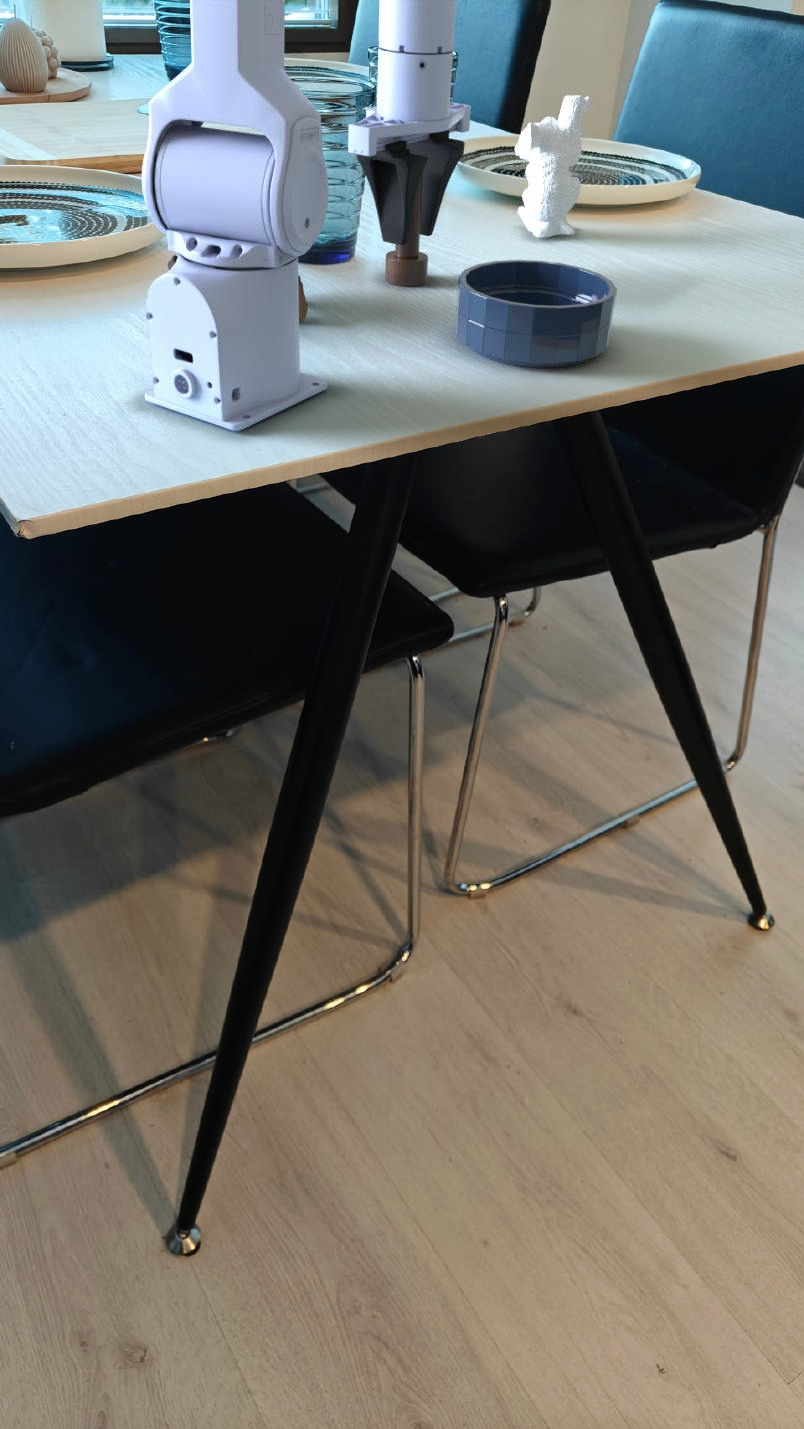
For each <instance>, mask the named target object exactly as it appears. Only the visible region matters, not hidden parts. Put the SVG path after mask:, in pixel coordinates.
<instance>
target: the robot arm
mask: <svg viewBox="0 0 804 1429" xmlns="http://www.w3.org/2000/svg"><path fill="white" fill-rule="evenodd" d="M378 5H379V6H378V13H379V14H378V42H377V43H378V45H377V47H378V48H377V85H376V86H377V87H376V88H377V90H376V106H373V107H369V108H366V110H365V114H366V115H365V117H364V118H363V119H361V120H359V121H357V122H354V123H350V124H348V142H347V143H348V145H347V148H348V150H347V151H348V153H349V154H352V155H353V154H354V155H356V159H357V162H358V163H359V165H360V167H361V169H362V171H363V174H364V175H365V177H366V179H367V182H368V185H369V187H370V191H371V194H372V197H373V201H374V204H375V209H376V214H377V218H378V225H379V228H380V233H381V240H382V242H384V243H389V244H394V245H396V244H397V245H405V244H407V242H408V239H409V235H410V230H411V223H412V214H413V206H414V200H415V195H416V190H417V187H418V183H419V180H420V177H421V174H422V172H423V180H422V200H421V221H420V236H425V237H430V236H432V235H433V233H434V230H435V227H436V223H437V220H438V216H439V213H440V209H441V206H442V203H443V199H444V196H445V193H446V190H447V188H448V184H449V182H450V179H451V177H452V175H453V173H454V171H455V169H456V167H457V166H458V163H459V162H460V160H461V159H462V157H463V155H464V153H465V141H463V140H461V139H455V138H450V134H451V133H455V132H457V133H467V132H470V124H471V111H472V110H471V109H472V105H470V104H465V103H457V102H451V92H452V75H453V56H454V42H455V27H456V11H457V10H456V9H457V0H379V4H378ZM189 8H190V10H189V13H190V44H191V45H190V46H191V62H190V63H189V65H188V66H187V67H185V68H184V69H183V70H182V71H181V72H180V73H179V74H178V75H176V76H175V77H174V78H173V79H172V80H171V81H169V82H168V83H167V84H166V85H165V86H164V87H162V88H161V89H160V90H159V91H158V92H157V93H156V94H155V95H153V97H152V98H151V99H150V100H149V102H148V133H147V134H148V135H147V143H146V149H145V152H144V156H143V160H142V166H141V188H142V190H141V191H142V195H143V199H144V200H143V201H144V203H145V206H146V209H147V211H148V214H149V217H150V219H151V220H152V221H151V222H153V223H152V224H154V225H155V227H156V229H158V230H159V231H160V232H161V233H162V234H163V235H166V237H167V249H168V251H169V252H172V253H173V252H174V253H177V254H178V253H179V254H178V255H177V257H178V258H177V261H176V263H175V264H174V266H173V267H172V268H171V269H170V270H169V269H168V271H167V272H165V273H163V274H161V275H160V276H158V277H157V278H156V279H155V280H154V281H153V282H152V283H151V285H150V287H149V289H148V291H147V295H146V298H145V299H146V300H145V323H146V332H147V341H148V352H149V360H150V367H151V368H150V370H151V381H152V389H150V390H148V391H146V392H145V393H144V398H145V399H144V400H145V401H146V402H148V403H151V404H154V405H157V406H160V407H162V408H166V409H169V410H171V411H174V412H177V413H179V414H183V415H186V416H190V417H192V418H195V419H198V420H200V421H204V422H207V423H209V424H212V425H216V426H218V427H221V428H224V429H227V430H230V431H235V432H239V431H242V430H245V429H246V428H248V427H251V426H252V425H254V424H258V423H260V422H261V421H262V420H266V419H268V418H269V417H271V416H274V415H275V414H278V413H280V412H281V411H284V410H286V409H288V408H290V407H292V406H294V405H296V404H298V403H301V402H302V401H304V400H306V399H308V398H311V397H314V396H315V395H317V394H319V393H321V392H323V391H326V390H327V389H328V381H327V380H325V379H323V378H319V377H316V376H312V375H309V374H306V373H302V372H301V358H300V355H301V353H300V352H301V350H300V323H299V285H298V275H299V257H300V256H303V255H305V254H307V253H308V251H309V250H311V248H312V246H313V245H314V244H315V243H316V241H317V240H318V238H319V237H320V235H321V233H322V230H323V229H324V228H323V227H324V226H325V221H326V218H327V213H328V207H329V194H330V192H329V191H330V190H329V177H328V171H327V167H326V166H327V165H326V163H325V158H324V148H323V129H322V128H323V127H322V116H321V114H320V112H319V111H318V109H317V108H316V106H315V105H314V104H313V103H312V102H311V100H309V98H308V97H307V96H306V95H305V94H304V93H303V91H302V90H300V88H299V87H298V85H296V84H295V82H294V81H293V80H292V79H291V78H290V77H289V75H288V73H287V72H286V71H285V29H286V28H285V27H286V26H285V22H286V20H285V18H286V17H285V16H286V15H285V13H286V0H189ZM204 123H210V124H218V125H225V126H233V127H241V128H249V129H252V130H255V131H258V132H260V134H259V133H253V132H245V131H237V130H228V129H221V128H214V127H213V128H212V127H205V126H203V125H204ZM261 133H262V134H261Z"/></svg>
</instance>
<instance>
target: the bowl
mask: <svg viewBox="0 0 804 1429" xmlns="http://www.w3.org/2000/svg"><path fill="white" fill-rule="evenodd" d="M617 291H618V288H617V287H616V285H615V284H614V282H613V281H612V280H611V279H609V278H607V277H606V276H604V275H603V274H601V273H598V272H595V271H593V270H590V269H587V268H584V267H582V266H581V267H580V266H576V265H571V264H567V263H562V262H555V261H546V260H533V259H507V260H505V259H504V260H493V261H489V262H484V263H478V264H475V265H472V266H470V267H467V268H465V269H464V270H463V271H462V272H461V273H460V275H458V280H457V293H456V294H457V295H456V308H455V322H454V323H455V324H454V331H455V336H456V339H457V340H458V341H460V342H461V344H463V345H464V346H466V347H467V348H469V350H471V351H472V352H474V353H475V354H477V355H479V356H481V357H483V358H485V359H487V360H491V361H494V362H497V363H502V364H506V365H510V366H518V367H526V368H541V369H543V368H544V369H545V368H562V367H569V366H574V365H577V364H581V363H584V362H587V361H588V360H590V359H591V358H595V357H597V356H598V355H600V354H602V353H603V352H605V351H606V349H607V347H608V345H609V342H610V337H611V336H610V335H611V330H612V324H613V323H612V322H613V317H614V311H615V305H616V299H617Z"/></svg>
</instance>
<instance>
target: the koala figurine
mask: <svg viewBox="0 0 804 1429" xmlns="http://www.w3.org/2000/svg"><path fill="white" fill-rule="evenodd" d="M592 101H593V98H591V97H589V96H586V97H585V96H584V95H580V94H579V95H573V94H568V95H565V96H564V98H563V100H562V103H561V107H560V112H559V114H558V120H557V119H556V117H554V116H545V118H544V119H542V120H541V121H540V122H532V121H531V122H528V123H527V126H526V127H525V128H524V129H523V130H522V131H521V133H520V136H519V138H518V142H517V143H516V145H515V147H514V152H515V156H516V157H519V159H522V160H524V161H527V162H529V163H528V164H527V165H526V168H525V177H526V179H527V182H528V187H527V188H525V190H524V191H523V192H522V197H521V198H522V202H523V205H521V206H519V207H518V209H517V214H518V215H519V216H520V218H521V220H522V221H523V223H524V225H525V228H526V229H527V230H528V231H529V232H532V234H533V236H535V237H536V238H539V239H543V238H544V239H545V238H550V237H553V236H558V235H559V236H561V235H562V236H564V235H565V236H570V235H575V233H576V230H575V229H574V227H573V226H572V225H571V224H570V223H569V221H568V219H567V217H566V215H568V213H569V212H570V211H571V210H572V208H574V206H575V204H576V202H577V201H578V200H579V196H580V194H581V189H582V188H581V186H582V185H581V181H580V178H579V177H578V176H573V175H572V173H571V170H570V168H571V167H575V165H576V164H577V163H578V162H579V160H580V158H581V156H582V152H583V147H582V146H583V145H582V127H581V124H582V121H583V116H584V115H585V112H586V111H587V110H588V109H589V108H590V106H591V103H592Z"/></svg>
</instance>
